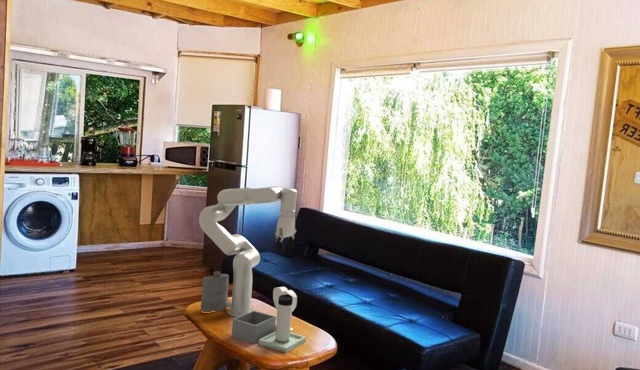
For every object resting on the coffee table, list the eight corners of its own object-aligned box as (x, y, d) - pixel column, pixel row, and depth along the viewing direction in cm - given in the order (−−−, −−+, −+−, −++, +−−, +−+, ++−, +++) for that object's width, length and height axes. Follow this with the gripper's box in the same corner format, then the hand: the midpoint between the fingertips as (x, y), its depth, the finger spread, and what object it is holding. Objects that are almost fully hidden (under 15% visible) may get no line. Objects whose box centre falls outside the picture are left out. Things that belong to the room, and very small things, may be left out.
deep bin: (231, 336, 223) (232, 319, 222) (252, 327, 236) (253, 310, 236) (254, 343, 217) (255, 325, 216) (274, 333, 231) (276, 316, 230)
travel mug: (291, 339, 223) (295, 295, 221) (286, 344, 217) (289, 299, 215) (278, 336, 225) (282, 292, 223) (272, 341, 219) (276, 296, 217)
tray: (258, 344, 217) (259, 339, 217) (279, 333, 231) (279, 329, 231) (286, 353, 210) (286, 348, 210) (305, 341, 224) (305, 336, 224)
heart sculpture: (295, 330, 237) (299, 293, 236) (287, 332, 234) (290, 294, 233) (278, 319, 249) (280, 284, 248) (269, 321, 246) (272, 285, 245)
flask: (205, 314, 247) (208, 275, 246) (198, 311, 251) (201, 272, 250) (229, 309, 259) (232, 271, 257) (222, 306, 263) (225, 268, 261)
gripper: (290, 211, 254) (287, 244, 255) (271, 213, 239) (268, 249, 240) (303, 213, 250) (300, 247, 252) (284, 216, 235) (281, 252, 236)
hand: (284, 248), depth 246 cm, fingers open, 9 cm apart
